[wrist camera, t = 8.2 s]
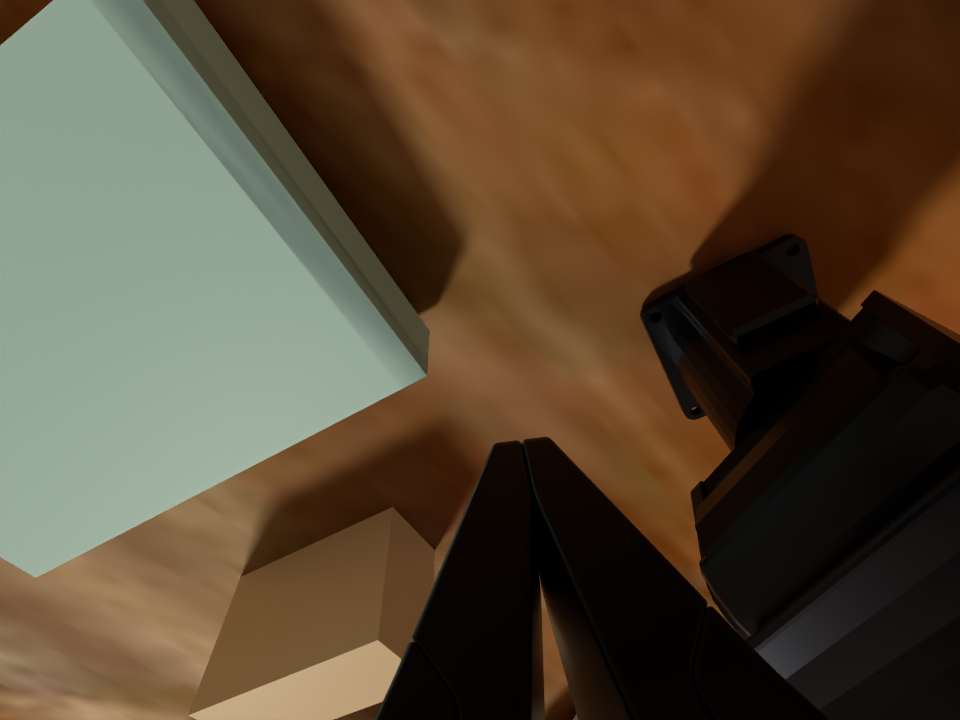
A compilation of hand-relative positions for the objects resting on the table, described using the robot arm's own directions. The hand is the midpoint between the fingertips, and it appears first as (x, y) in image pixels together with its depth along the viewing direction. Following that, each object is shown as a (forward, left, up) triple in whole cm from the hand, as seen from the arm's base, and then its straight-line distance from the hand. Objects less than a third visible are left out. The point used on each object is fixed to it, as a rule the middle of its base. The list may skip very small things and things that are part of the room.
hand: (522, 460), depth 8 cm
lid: (+4, +13, -12) cm, 19 cm away
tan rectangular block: (-13, +16, -13) cm, 24 cm away
